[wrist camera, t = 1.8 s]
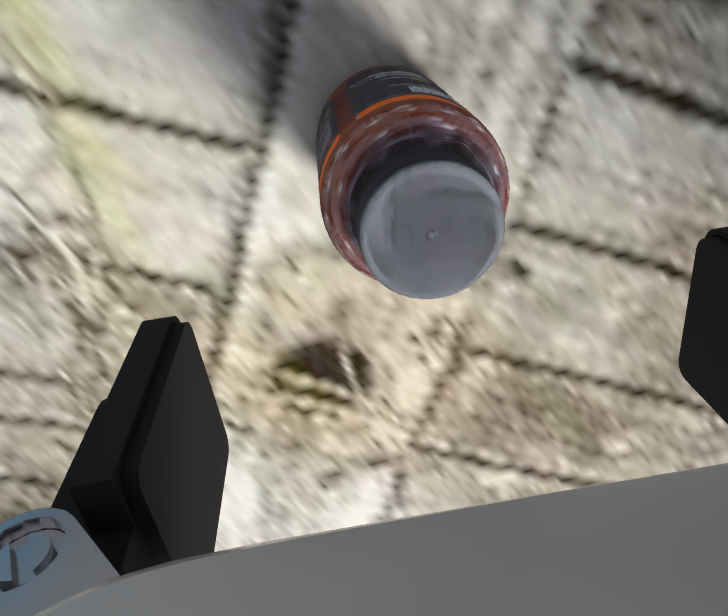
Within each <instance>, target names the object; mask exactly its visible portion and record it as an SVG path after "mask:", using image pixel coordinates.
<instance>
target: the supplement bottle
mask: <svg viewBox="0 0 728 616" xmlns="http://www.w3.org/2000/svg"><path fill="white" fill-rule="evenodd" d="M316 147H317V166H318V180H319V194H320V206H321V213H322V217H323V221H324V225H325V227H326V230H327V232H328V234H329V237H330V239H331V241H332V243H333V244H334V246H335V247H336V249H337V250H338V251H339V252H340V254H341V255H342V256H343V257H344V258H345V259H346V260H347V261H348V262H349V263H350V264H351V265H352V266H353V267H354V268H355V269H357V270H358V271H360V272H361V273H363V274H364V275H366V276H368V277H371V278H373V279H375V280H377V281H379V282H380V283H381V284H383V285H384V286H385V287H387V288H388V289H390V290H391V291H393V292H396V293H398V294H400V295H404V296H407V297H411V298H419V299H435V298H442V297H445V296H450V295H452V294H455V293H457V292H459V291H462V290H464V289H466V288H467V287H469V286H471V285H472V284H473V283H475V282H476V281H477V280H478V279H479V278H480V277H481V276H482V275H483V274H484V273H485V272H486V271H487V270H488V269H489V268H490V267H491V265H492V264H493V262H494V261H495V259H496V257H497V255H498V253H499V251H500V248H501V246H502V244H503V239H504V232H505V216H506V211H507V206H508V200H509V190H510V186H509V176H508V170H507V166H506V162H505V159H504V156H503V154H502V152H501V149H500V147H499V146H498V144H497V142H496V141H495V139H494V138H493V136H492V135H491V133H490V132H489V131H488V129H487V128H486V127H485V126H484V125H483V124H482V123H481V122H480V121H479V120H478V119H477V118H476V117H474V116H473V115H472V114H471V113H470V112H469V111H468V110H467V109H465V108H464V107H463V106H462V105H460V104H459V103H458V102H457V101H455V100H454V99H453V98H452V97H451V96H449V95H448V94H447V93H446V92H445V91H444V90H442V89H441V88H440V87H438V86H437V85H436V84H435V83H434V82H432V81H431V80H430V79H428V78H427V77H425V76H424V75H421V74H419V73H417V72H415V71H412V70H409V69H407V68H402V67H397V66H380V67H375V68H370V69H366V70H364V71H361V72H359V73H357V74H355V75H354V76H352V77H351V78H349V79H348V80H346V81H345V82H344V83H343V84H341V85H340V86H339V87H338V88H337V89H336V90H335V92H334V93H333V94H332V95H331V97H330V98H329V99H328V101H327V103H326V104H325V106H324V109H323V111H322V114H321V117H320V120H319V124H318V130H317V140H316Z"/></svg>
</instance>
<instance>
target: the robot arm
mask: <svg viewBox="0 0 728 616" xmlns="http://www.w3.org/2000/svg"><path fill="white" fill-rule="evenodd" d="M679 368H680V371H681V374H682V376H683V377H684V379H685V380H686V381H687V382H688V383H689V384H690V385H691V386H692V387H693V388H694V389H695V390H696V391H697V392H698V393H699V395H700V396H701V397H702V398H703V399H704V400H705V401H706V402H707V403H708V404H709V405H710V406H711V407H712V408H713V409H714V410H715V411H716V412H717V413H718V414H719V416H720V417H721V418H722V419H723V420H724V421H725V422H726V423H727V424H728V227H723V228H717V229H712V230H710V231H709V232H708V233H707V235H706V236H705V238H703V239H701V240H700V241H699V243H698V245H697V248H696V254H695V260H694V267H693V273H692V279H691V285H690V292H689V298H688V304H687V310H686V317H685V323H684V329H683V335H682V342H681V348H680V354H679ZM228 454H229V446H228V438H227V434H226V431H225V428H224V425H223V422H222V419H221V415H220V412H219V409H218V406H217V403H216V400H215V397H214V394H213V391H212V388H211V385H210V382H209V379H208V375H207V372H206V369H205V366H204V363H203V360H202V357H201V354H200V351H199V348H198V345H197V342H196V339H195V335H194V332H193V329H192V327H191V325H190V323H189V322H184V323H180V321H179V319H178V318H177V317H176V316H172V317H165V318H159V319H153V320H147V321H143V322H142V323H141V325H140V327H139V329H138V332H137V334H136V336H135V338H134V340H133V343H132V345H131V347H130V349H129V351H128V354H127V356H126V358H125V360H124V362H123V365H122V367H121V369H120V371H119V373H118V376H117V378H116V380H115V382H114V384H113V387H112V389H111V391H110V393H109V395H108V398H107V399H105V400H103V401H102V402H101V403H100V405H99V406H98V408H97V410H96V412H95V414H94V416H93V419H92V421H91V423H90V425H89V427H88V429H87V431H86V433H85V436H84V438H83V440H82V442H81V444H80V446H79V448H78V451H77V453H76V455H75V457H74V459H73V461H72V463H71V466H70V468H69V470H68V472H67V474H66V476H65V478H64V481H63V483H62V485H61V487H60V489H59V491H58V493H57V496H56V498H55V500H54V502H53V504H52V506H51V508H44V509H35V510H32V511H29V512H26V513H23V514H20V515H18V516H16V517H14V518H12V519H10V520H8V521H6V522H4V523H2V524H0V616H728V463H726V464H720V465H714V466H708V467H702V468H696V469H690V470H684V471H678V472H672V473H666V474H660V475H654V476H649V477H643V478H637V479H631V480H625V481H619V482H613V483H607V484H601V485H595V486H589V487H583V488H577V489H571V490H565V491H559V492H553V493H547V494H541V495H536V496H530V497H524V498H518V499H512V500H506V501H500V502H494V503H488V504H482V505H476V506H470V507H464V508H458V509H452V510H446V511H440V512H434V513H429V514H423V515H417V516H411V517H405V518H400V519H394V520H388V521H382V522H377V523H371V524H365V525H359V526H354V527H348V528H342V529H336V530H331V531H325V532H319V533H313V534H308V535H302V536H296V537H290V538H285V539H279V540H273V541H267V542H262V543H257V544H252V545H247V546H242V547H237V548H232V549H227V550H223V551H218V552H214V548H215V542H216V535H217V528H218V522H219V515H220V508H221V501H222V495H223V488H224V481H225V475H226V468H227V461H228Z"/></svg>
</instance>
